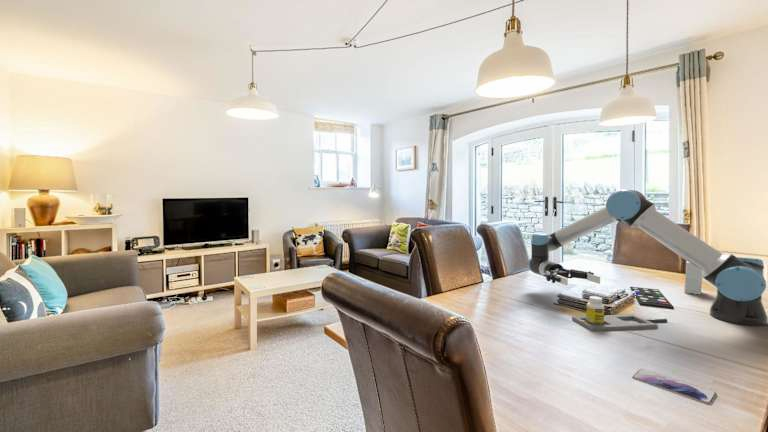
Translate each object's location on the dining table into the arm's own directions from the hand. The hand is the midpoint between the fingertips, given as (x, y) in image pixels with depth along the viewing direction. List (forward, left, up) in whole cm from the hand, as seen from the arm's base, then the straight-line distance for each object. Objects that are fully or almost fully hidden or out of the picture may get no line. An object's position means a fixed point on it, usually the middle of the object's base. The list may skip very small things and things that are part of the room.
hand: (583, 281), depth 138 cm
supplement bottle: (-9, +8, -13) cm, 18 cm away
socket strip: (-14, -2, -13) cm, 19 cm away
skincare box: (-8, -73, -13) cm, 75 cm away
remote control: (-3, -46, -14) cm, 48 cm away
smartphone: (-42, +33, -13) cm, 55 cm away
